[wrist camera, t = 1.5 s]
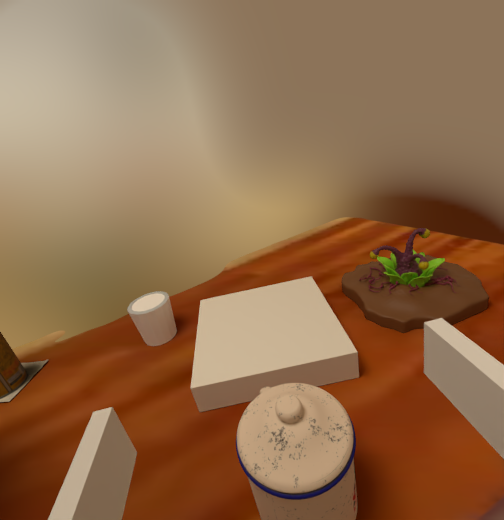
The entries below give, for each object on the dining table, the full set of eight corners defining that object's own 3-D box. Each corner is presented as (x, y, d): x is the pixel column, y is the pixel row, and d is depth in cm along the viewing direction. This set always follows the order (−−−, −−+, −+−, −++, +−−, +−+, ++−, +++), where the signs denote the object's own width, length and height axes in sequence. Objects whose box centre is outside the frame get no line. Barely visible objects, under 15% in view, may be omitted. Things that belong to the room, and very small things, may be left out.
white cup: (163, 319, 58) (151, 288, 56) (188, 327, 54) (177, 294, 52) (133, 342, 53) (118, 309, 51) (158, 353, 50) (144, 317, 47)
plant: (519, 311, 43) (533, 237, 39) (386, 345, 42) (385, 273, 38) (425, 257, 61) (428, 203, 57) (331, 280, 60) (326, 227, 56)
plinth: (199, 412, 38) (190, 388, 36) (206, 318, 56) (200, 300, 54) (359, 377, 38) (357, 352, 36) (313, 295, 56) (311, 276, 54)
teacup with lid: (385, 526, 24) (383, 426, 20) (282, 591, 22) (251, 496, 17) (309, 410, 35) (295, 328, 30) (234, 446, 33) (207, 363, 28)
